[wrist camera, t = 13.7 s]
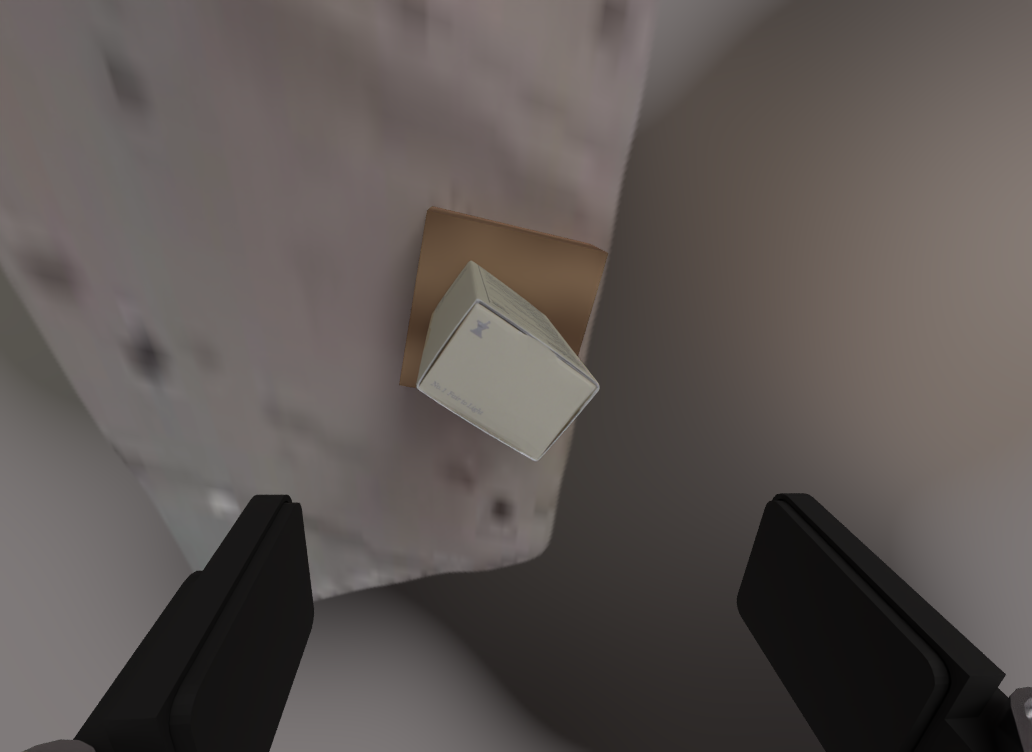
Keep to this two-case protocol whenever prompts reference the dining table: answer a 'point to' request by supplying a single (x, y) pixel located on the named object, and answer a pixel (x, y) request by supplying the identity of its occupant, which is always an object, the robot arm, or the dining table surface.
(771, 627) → the robot arm
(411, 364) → the light wood square block
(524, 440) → the skincare box
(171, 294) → the dining table surface
